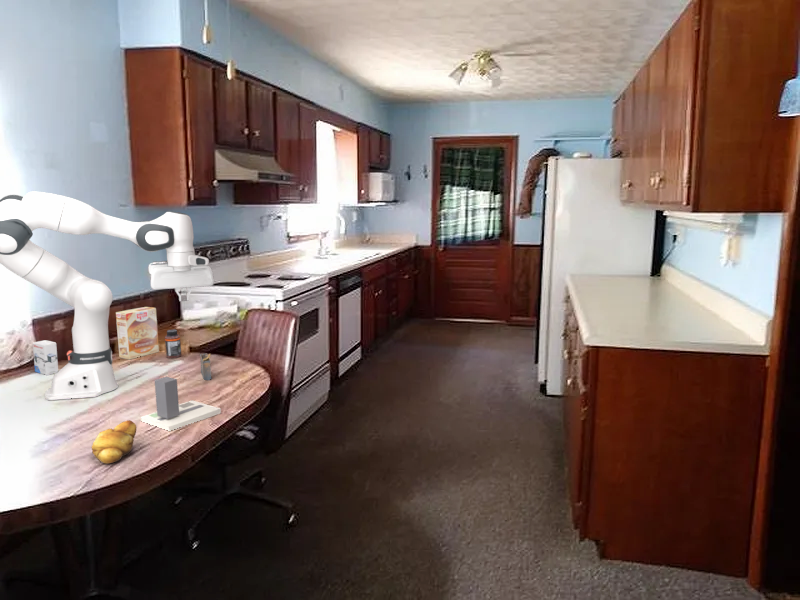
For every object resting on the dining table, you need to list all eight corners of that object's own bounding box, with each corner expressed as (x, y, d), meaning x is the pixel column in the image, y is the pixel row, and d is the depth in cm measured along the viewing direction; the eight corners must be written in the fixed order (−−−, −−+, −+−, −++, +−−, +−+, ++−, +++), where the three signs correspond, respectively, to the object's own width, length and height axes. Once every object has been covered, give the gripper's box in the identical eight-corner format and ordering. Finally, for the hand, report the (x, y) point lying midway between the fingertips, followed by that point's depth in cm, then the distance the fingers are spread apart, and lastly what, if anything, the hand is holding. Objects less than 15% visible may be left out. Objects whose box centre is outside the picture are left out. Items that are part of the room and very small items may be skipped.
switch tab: (167, 419, 177) (164, 382, 175) (157, 415, 180) (154, 379, 178) (179, 415, 180) (176, 379, 178) (169, 411, 183) (166, 376, 181)
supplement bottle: (167, 355, 256) (165, 329, 255) (182, 354, 258) (180, 328, 256) (165, 359, 251) (163, 332, 249) (180, 358, 252) (178, 331, 250)
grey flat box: (212, 380, 222) (211, 355, 220) (204, 381, 221) (202, 355, 219) (209, 372, 232) (208, 348, 230) (201, 373, 231) (199, 348, 229)
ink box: (34, 372, 233) (31, 342, 231) (47, 369, 238) (44, 339, 236) (46, 375, 229) (43, 345, 227) (59, 372, 233) (56, 342, 231)
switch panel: (169, 431, 172) (169, 426, 172) (141, 421, 180) (140, 416, 180) (220, 413, 187) (220, 408, 187) (192, 404, 195) (192, 399, 195)
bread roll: (122, 466, 150) (119, 436, 149) (82, 468, 150) (78, 437, 149) (140, 445, 163) (138, 417, 162) (103, 446, 163) (101, 418, 161)
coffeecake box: (129, 360, 250) (125, 313, 247) (118, 357, 253) (114, 312, 250) (160, 351, 263) (156, 307, 260) (149, 349, 266) (145, 306, 263)
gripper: (148, 262, 196) (151, 304, 199) (213, 259, 205) (215, 300, 207) (147, 260, 202) (150, 301, 204) (211, 257, 210) (213, 297, 213)
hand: (184, 300), depth 206 cm, fingers closed
